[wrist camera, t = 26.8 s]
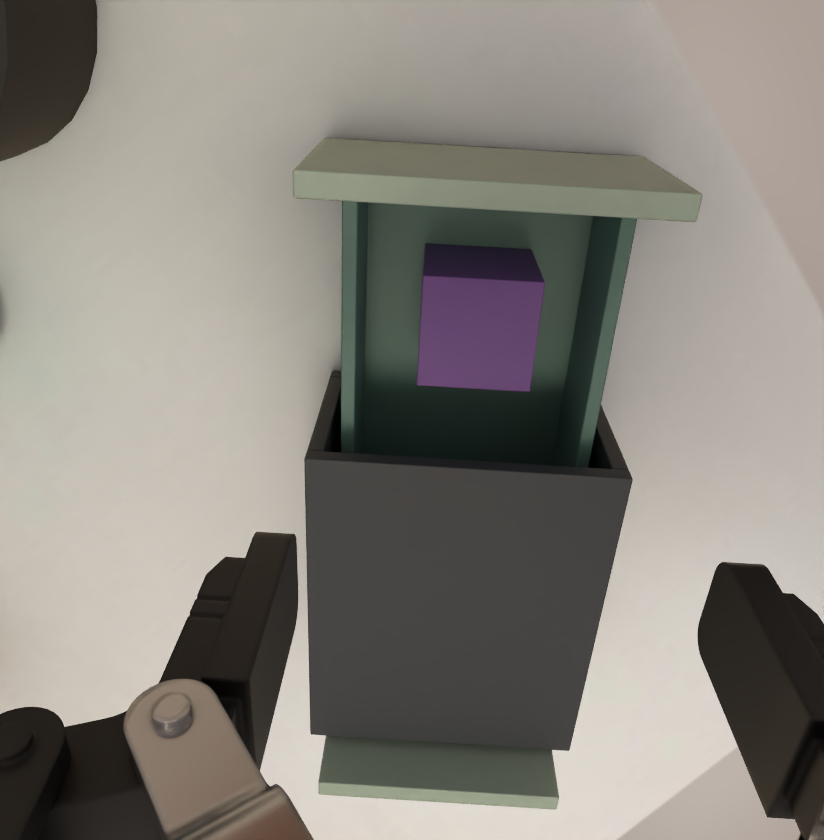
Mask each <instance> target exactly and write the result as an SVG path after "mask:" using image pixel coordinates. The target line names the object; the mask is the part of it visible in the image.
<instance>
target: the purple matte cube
mask: <svg viewBox="0 0 824 840" xmlns="http://www.w3.org/2000/svg"><path fill="white" fill-rule="evenodd" d="M544 289H545V281H544V279H543V276H542V274H541V271H540V269H539V266H538V264H537V261H536V259H535V257H534V254H533V252H532V250H531V249H516V248H499V247H481V246H464V245H446V244H428V243H426V244H425V250H424V265H423V280H422V298H421V316H420V333H419V351H418V368H417V385H419V386H436V387H453V388H470V389H488V390H505V391H522V392H530V389H531V382H532V375H533V367H534V360H535V353H536V346H537V339H538V332H539V325H540V318H541V310H542V303H543V296H544Z"/></svg>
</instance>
